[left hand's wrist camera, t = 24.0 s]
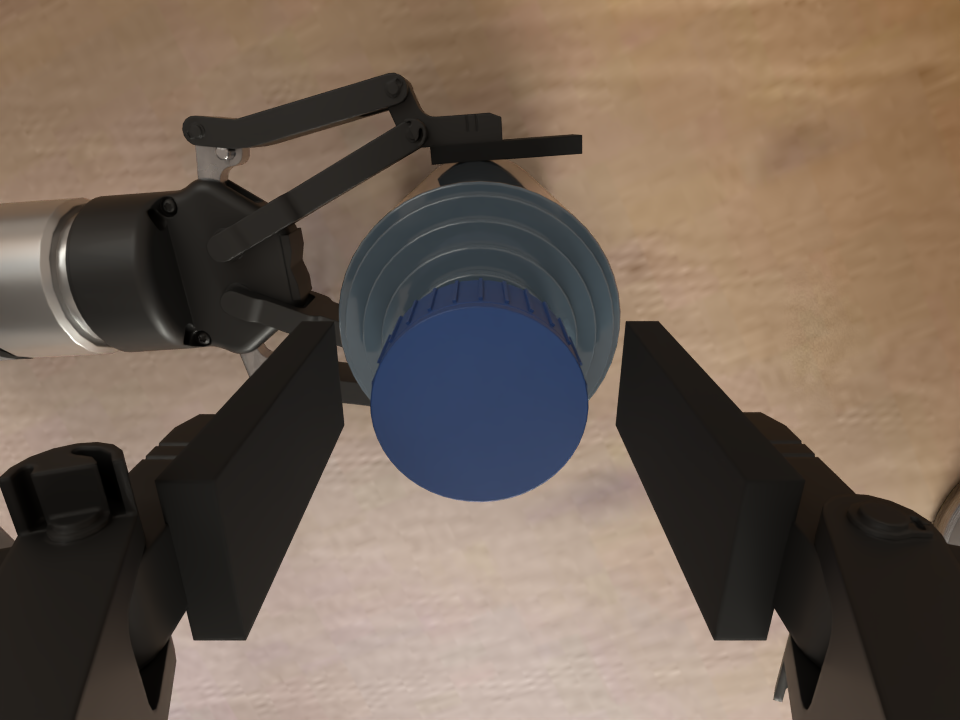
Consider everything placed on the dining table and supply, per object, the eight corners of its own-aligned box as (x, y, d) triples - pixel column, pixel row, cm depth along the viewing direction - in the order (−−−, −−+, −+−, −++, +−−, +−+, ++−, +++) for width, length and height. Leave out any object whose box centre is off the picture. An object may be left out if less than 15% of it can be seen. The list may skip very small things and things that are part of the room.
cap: (564, 261, 13) (579, 285, 11) (584, 439, 15) (600, 489, 13) (364, 293, 13) (343, 323, 11) (406, 464, 15) (394, 517, 13)
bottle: (521, 129, 32) (603, 132, 11) (570, 269, 34) (710, 484, 14) (383, 189, 33) (215, 294, 12) (442, 319, 36) (389, 588, 15)
